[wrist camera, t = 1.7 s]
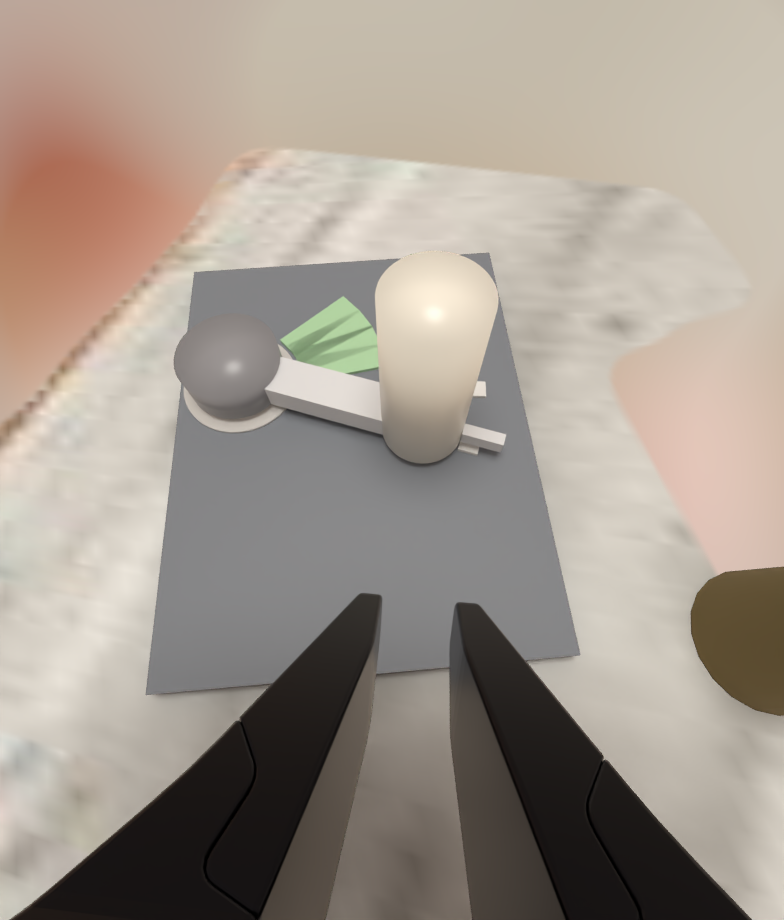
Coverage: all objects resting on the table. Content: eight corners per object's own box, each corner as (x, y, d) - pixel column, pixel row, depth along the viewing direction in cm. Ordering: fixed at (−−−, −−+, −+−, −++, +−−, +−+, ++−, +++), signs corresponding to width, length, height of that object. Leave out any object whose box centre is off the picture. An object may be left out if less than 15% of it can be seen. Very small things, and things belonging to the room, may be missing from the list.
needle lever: (172, 404, 24) (58, 267, 16) (216, 329, 26) (133, 172, 18) (489, 494, 22) (546, 390, 14) (511, 405, 24) (571, 267, 16)
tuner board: (572, 656, 21) (582, 655, 20) (156, 693, 20) (143, 695, 19) (486, 264, 30) (489, 248, 29) (200, 283, 30) (193, 268, 28)
